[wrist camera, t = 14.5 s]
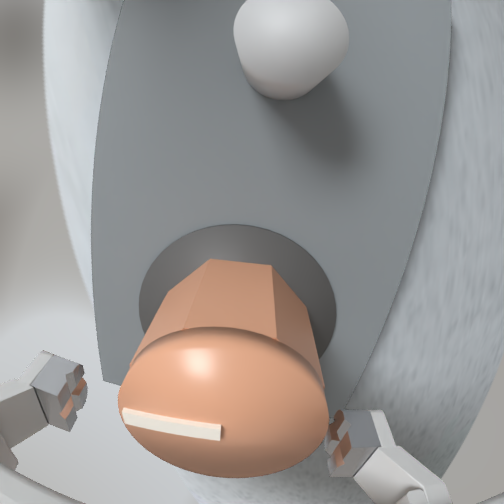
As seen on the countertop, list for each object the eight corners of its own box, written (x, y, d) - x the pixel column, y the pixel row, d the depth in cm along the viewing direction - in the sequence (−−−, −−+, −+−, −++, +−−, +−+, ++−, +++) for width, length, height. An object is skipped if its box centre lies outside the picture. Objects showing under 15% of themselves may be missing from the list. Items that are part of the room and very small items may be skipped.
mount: (161, -54, 10) (121, -116, 4) (432, -3, 10) (497, -42, 4) (114, 360, 18) (77, 429, 12) (334, 395, 18) (351, 471, 13)
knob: (319, 265, 13) (358, 364, 7) (293, 381, 15) (303, 485, 9) (163, 248, 13) (98, 334, 7) (167, 367, 15) (133, 465, 9)
